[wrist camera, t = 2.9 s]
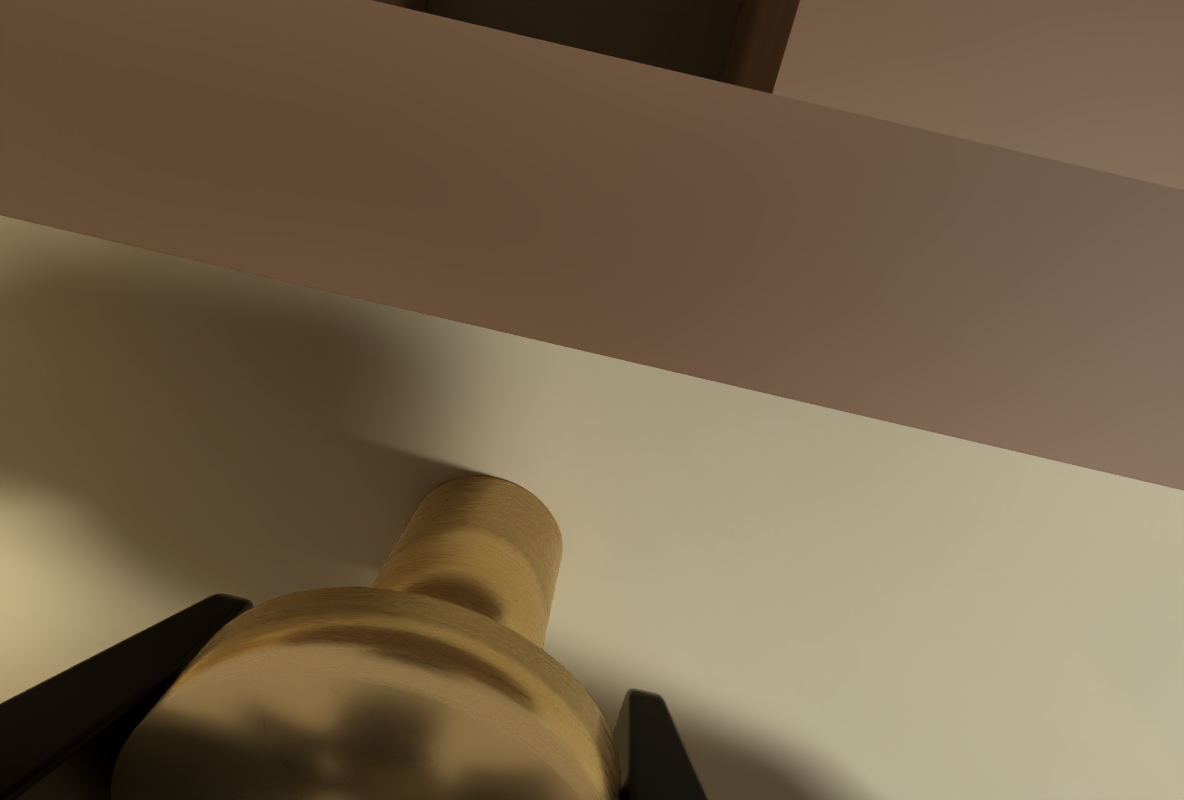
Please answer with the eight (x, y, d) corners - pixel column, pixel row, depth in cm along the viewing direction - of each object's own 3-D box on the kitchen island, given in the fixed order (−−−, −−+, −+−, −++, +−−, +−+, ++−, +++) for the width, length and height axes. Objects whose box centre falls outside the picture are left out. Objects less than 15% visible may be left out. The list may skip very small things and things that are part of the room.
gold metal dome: (598, 677, 11) (562, 1040, 7) (337, 618, 11) (134, 944, 7) (666, 449, 9) (675, 752, 5) (352, 377, 9) (82, 616, 5)
